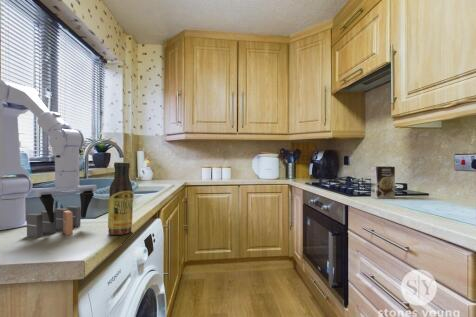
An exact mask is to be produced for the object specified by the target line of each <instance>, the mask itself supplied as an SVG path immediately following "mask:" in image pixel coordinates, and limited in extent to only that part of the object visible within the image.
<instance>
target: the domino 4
mask: <svg viewBox="0 0 476 317" xmlns="http://www.w3.org/2000/svg"><path fill="white" fill-rule="evenodd" d="M73 228H74V227H73V212H71V211H69V210H68V211H63V230H62V232H63V233H64V234H65V235H66V236H67V235H73V233H74V231H73Z"/></svg>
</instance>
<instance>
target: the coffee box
mask: <svg viewBox="0 0 476 317" xmlns="http://www.w3.org/2000/svg"><path fill="white" fill-rule="evenodd" d="M395 169H396V167H395V166H388V165H387V166H377V165H376V166H373V165H371V170H370V174H371V176H370V180H371V181H370V197H371V198H374V199H377V200H378V199H379V200H381V199H384V200H386V199H390V200H391V199H392V200H393V199H394V200H395V198H396V191H395V190H396V189H395V188H396V184H395V183H396V177H395V176H396V171H395Z"/></svg>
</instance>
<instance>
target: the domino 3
mask: <svg viewBox="0 0 476 317" xmlns="http://www.w3.org/2000/svg"><path fill="white" fill-rule="evenodd" d="M68 210H69V209H67V208H62V207H59V208H54V211H56V230H57V229H58V230H59V231H63V211H68Z"/></svg>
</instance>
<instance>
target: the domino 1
mask: <svg viewBox="0 0 476 317" xmlns="http://www.w3.org/2000/svg"><path fill="white" fill-rule="evenodd" d="M26 222H27V226H26V237H29V238H35V239H39V238H42V237H43V235H44V233H43V232H42V214H41V213H28V214H26Z"/></svg>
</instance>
